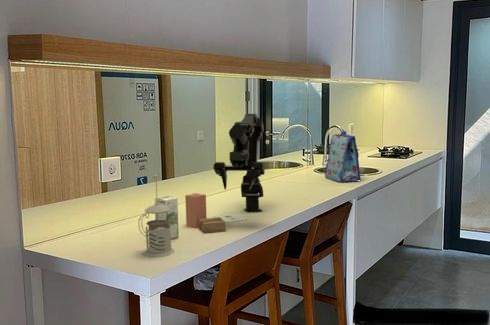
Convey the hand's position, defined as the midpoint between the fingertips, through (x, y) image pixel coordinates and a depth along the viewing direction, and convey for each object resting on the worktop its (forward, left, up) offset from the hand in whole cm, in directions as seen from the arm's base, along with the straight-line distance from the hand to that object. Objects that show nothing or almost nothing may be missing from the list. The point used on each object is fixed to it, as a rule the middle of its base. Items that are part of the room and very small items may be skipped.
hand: (237, 189), depth 186 cm
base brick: (-2, -9, -15) cm, 18 cm away
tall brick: (-11, -13, -15) cm, 23 cm away
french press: (+18, -33, -15) cm, 40 cm away
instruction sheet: (-17, +2, -15) cm, 23 cm away
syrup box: (+3, -27, -15) cm, 31 cm away
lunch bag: (-85, +91, -15) cm, 126 cm away
